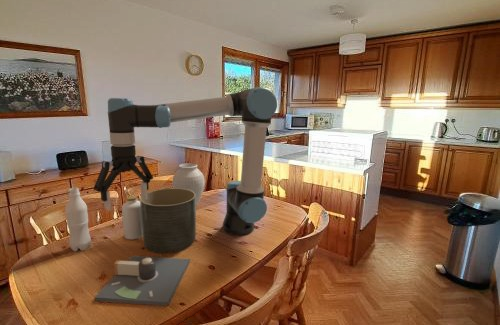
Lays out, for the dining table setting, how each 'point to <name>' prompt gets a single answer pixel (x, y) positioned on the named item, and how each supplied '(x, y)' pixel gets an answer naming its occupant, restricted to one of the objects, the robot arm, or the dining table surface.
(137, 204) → the potion bottle
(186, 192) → the planter
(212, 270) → the dining table surface
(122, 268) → the peg lever
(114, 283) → the dial board
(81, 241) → the water bottle
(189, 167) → the vase
